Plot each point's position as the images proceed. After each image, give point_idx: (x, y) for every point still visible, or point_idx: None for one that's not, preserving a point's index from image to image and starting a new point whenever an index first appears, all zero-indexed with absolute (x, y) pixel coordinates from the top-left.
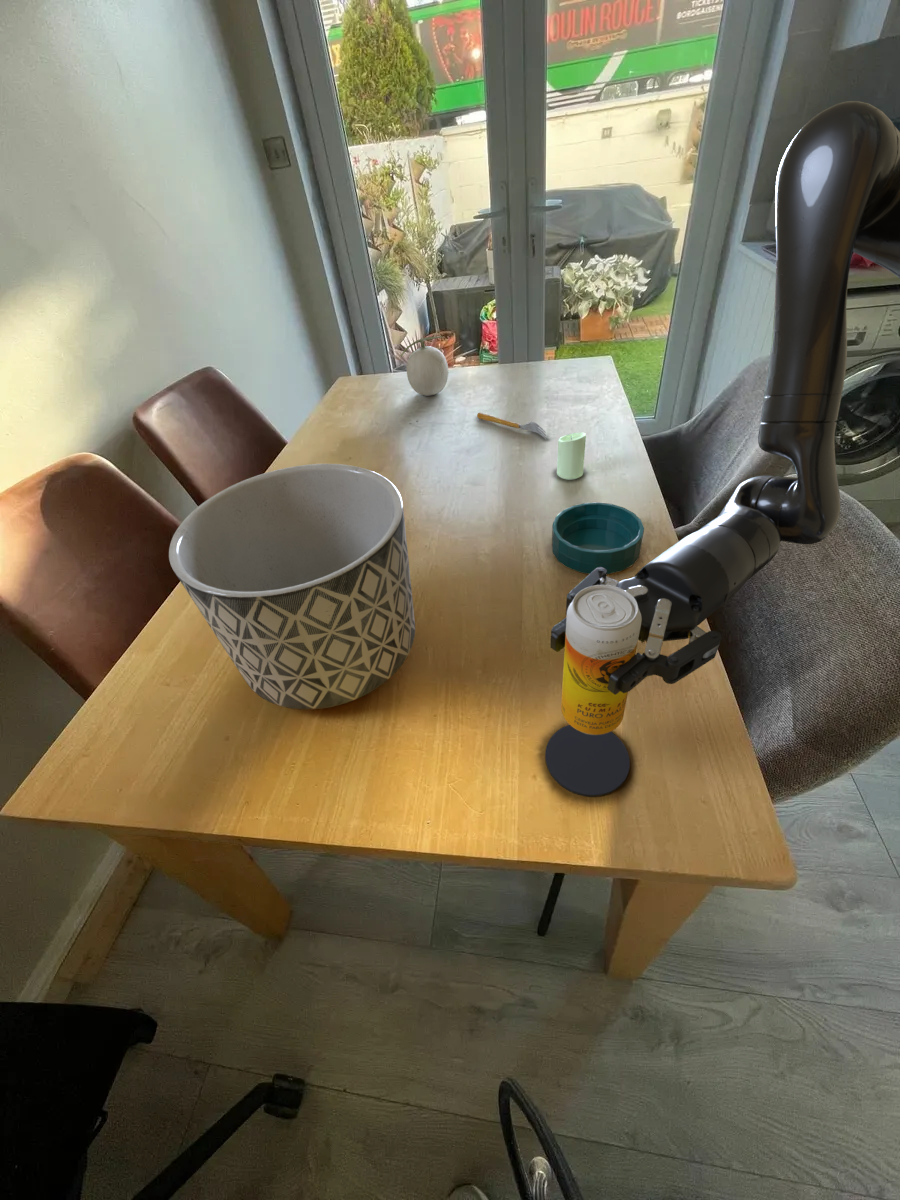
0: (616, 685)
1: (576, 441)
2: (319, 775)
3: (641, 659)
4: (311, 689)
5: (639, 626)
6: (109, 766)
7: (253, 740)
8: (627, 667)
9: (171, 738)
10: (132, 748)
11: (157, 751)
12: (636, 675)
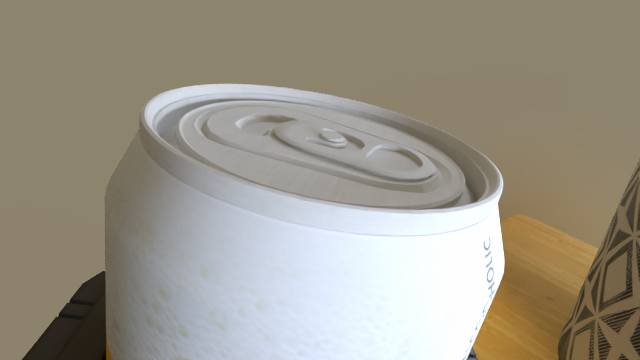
0: None
1: None
2: None
3: (61, 350)
4: (575, 305)
5: (107, 187)
6: (542, 244)
7: (538, 310)
8: None
9: (563, 275)
10: (559, 257)
11: (549, 264)
12: (67, 307)
